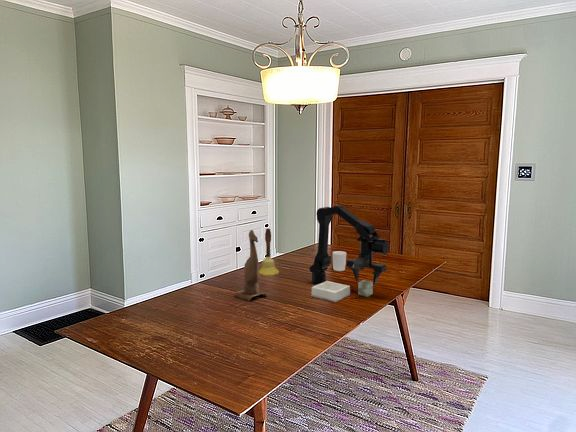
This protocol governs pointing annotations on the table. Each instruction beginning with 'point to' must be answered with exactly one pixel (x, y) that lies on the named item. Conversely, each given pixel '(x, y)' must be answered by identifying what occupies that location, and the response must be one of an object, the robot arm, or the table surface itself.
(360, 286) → the mint block
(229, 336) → the table surface
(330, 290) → the bin
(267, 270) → the handbell
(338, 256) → the white cup
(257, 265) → the bird sculpture
